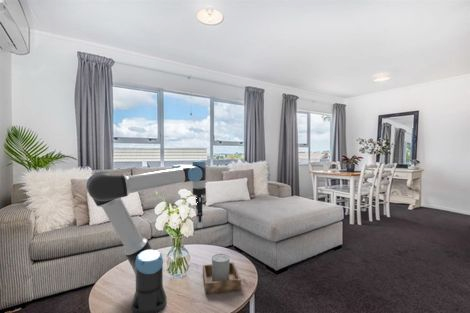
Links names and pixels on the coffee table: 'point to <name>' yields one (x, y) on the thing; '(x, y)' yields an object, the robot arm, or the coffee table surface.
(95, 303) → the coffee table surface
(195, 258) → the coffee table surface
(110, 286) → the coffee table surface
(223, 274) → the speckled white tin can
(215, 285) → the walnut box
